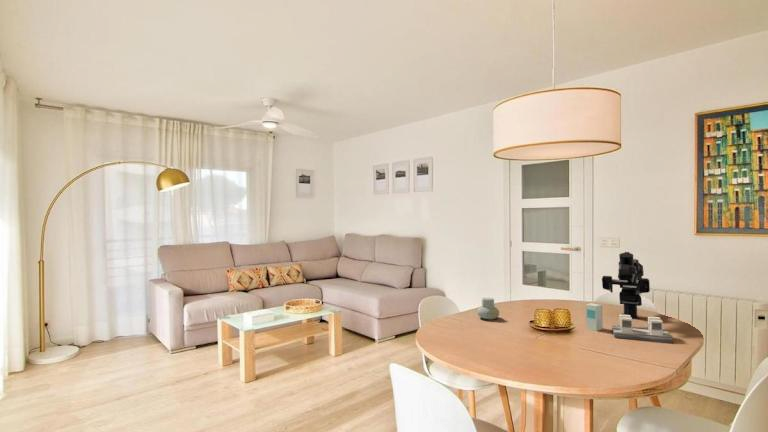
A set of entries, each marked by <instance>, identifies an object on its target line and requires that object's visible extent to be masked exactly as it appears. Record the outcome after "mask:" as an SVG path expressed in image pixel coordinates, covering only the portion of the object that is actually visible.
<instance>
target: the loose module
mask: <svg viewBox="0 0 768 432" xmlns="http://www.w3.org/2000/svg"><path fill="white" fill-rule="evenodd" d="M585 318H586V319H585V323H586V324H585V325H586V330H588V331H589V330H590V331H595V332H597V331H600V330H603V329H604V328H603V327H604V326H603V325H604V324H603V323H604V321H603V320H604V319H603V304H601V303H595V302H591V303H587V304H585Z"/></svg>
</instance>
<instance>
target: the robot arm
mask: <svg viewBox="0 0 768 432" xmlns="http://www.w3.org/2000/svg"><path fill="white" fill-rule="evenodd" d="M618 256H619V261H618V272H617V273H618V275H617V279H614V278H613V277H612V276H611V275H603V276H602V277H601V282H602V283H601V285H602V289H603V290H606V291H609V292H610V293H613V291H614V290H613V289H614V288H613V285H615V286H617V285H618V286H619V288H620V289H621V290H620V291H619V295H618V296H619V305H623V313H621V315H630V316H631V318H632V319H640V316H638V307H641V306H642V305H643V304H642V303H643V301H642V296H641V294H646V293H648V294H649V293H650V292H651V286H650V279H649V278H645V277H644V266H643V265H642V264H641V263H640V262H639V259H638V258H637V259H636V258H634V254H633V253H631V252H630V251H624V252H621V253H619V255H618Z"/></svg>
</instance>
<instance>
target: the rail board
mask: <svg viewBox="0 0 768 432" xmlns="http://www.w3.org/2000/svg"><path fill="white" fill-rule="evenodd" d="M663 324H664V323H663V320H662V319H661V317H660V316H659V317H657V316H647V327H642V326H633V318H631V316H630V315H622V313H621V314H619V325H618V324H611V330H612V333H613V337H614V338H615V339H623V340H633V341H644V342H655V343H663V344H664V343H665V344H674V340H673V336H671V335H670V333H669V332H668V330H667V329H666V328H663Z"/></svg>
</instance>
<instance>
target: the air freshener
mask: <svg viewBox="0 0 768 432" xmlns="http://www.w3.org/2000/svg"><path fill="white" fill-rule="evenodd" d="M476 313H477V316H478V317H480V318H481V319H483V320H488V321H493V320H495V319H496V318H498V317H499V316H500V310H499V309H498V308H497V307H496V306H495V299H494V298H493V297H482V299H481V306H480V307H479V308H478V309H477V311H476Z"/></svg>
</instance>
